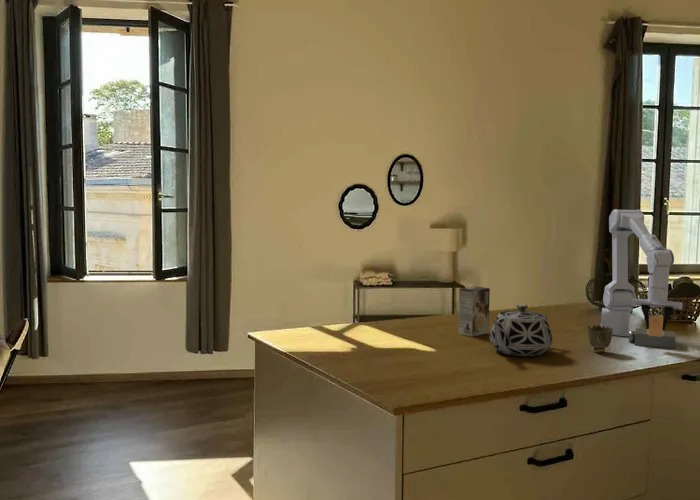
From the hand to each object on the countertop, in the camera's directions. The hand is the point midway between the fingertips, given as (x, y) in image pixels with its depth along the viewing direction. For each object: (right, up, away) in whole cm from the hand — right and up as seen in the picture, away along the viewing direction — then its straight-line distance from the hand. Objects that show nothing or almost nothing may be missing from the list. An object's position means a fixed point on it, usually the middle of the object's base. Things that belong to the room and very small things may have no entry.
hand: (655, 329), depth 226 cm
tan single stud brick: (0, -2, 0) cm, 2 cm away
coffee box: (-55, -4, +21) cm, 59 cm away
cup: (-19, -7, -3) cm, 21 cm away
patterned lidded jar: (-45, -7, -5) cm, 46 cm away
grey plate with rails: (+4, -6, +9) cm, 12 cm away
